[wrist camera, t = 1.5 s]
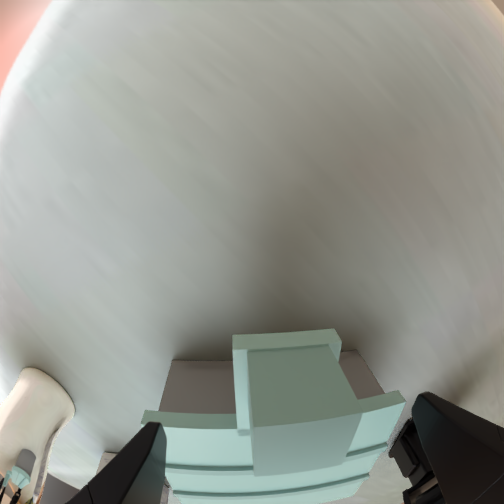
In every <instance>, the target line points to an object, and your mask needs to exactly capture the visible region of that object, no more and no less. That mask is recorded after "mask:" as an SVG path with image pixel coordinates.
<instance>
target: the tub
mask: <svg viewBox="0 0 504 504" xmlns="http://www.w3.org/2000/svg"><path fill="white" fill-rule="evenodd" d="M338 363H339V365H340V367H341V369H342V371H343V373H344V375H345V377H346V379H347V380H348V382H349V384H350V386H351V388H352V390H353V392H354V394H355V396H356V398H357V400H359V399H364V398H369V397H373V396H377V395H382V394H385V393H384V391H383V389H382V388H381V386H380V385H379V383H378V382H377V380H376V378H375V377H374V375H373V374H372V372H371V371H370V369H369V368H368V366H367V364H366V363H365V361H364V360H363V358H362V357H361V355H360V354H359V352H358V351H357V350H353V351H346V352H340V356H339V361H338ZM158 411H160V412H174V413H195V414H236V401H235V385H234V369H233V361H179V360H172V363H171V366H170V370H169V374H168V377H167V381H166V384H165V388H164V392H163V395H162V399H161V403H160V407H159V410H158Z"/></svg>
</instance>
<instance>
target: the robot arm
mask: <svg viewBox="0 0 504 504" xmlns="http://www.w3.org/2000/svg"><path fill="white" fill-rule="evenodd" d="M412 416H413V420H410V421H409V422H407V423H406V424H405V426H404V428H403V430H402V432H401V434H400V435H399V437H398V439H397V441H396V442H395V444H394V446H393V448H392V449H391V451H390V453H389V454H388V455H389V457H390V458H393V457H394V458H395V460H396V462H397V464H398V466H399V468H400V470H401V472H402V474H403V476H404V477H405V478H407V477H408V478H409V480H410V482H411V484H412V487H411V488H409V489H406V490H405V491H403V492H402V493H403V500H404V504H504V428H503V427H501V426H498V425H496V424H494V423H492V422H490V421H488V420H485V419H483V418H481V417H479V416H477V415H475V414H473V413H471V412H469V411H467V410H465V409H463V408H460V407H458V406H456V405H454V404H452V403H450V402H448V401H446V400H444V399H442V398H440V397H438V396H437V395H435V394H433V393H431V392H424V393H421V394H419V395H418V396H417V398H416V401H415V403H414V405H413V407H412ZM166 449H167V437H166V434H165V431H164V428H163V426H162V424H161V423H160V422H154V421H149V422H147V423H146V425H145V426H144V427H143V428H142V429H141V430H140V431H139V432H138V433H137V434H136V435H135V436H134V437H133V438H132V439H131V440H130V441H129V442H128V443H127V444H126V445H125V446H124V447H123V448H122V449H121V450H120V452H119V453H118V454H117V455H116V456H115V457H114V458H113V459H112V460H111V461H110V462H109V463H108V464H107V465H106V466H105V467H104V468H103V469H102V470H101V471H100V472H99V473H98V474H97V475H96V476H95V477H93V478H92V479H91V480H90V481H89V482H88V485H85V486H84V487H83V488H82V489H81V490H80V491H79V492H78V493H77V494H76V495H74V496H73V497H72V498H71V499H70V500H68V501H67V502H66V503H64V504H160V502H161V496H162V491H163V486H164V480H165V465H166Z"/></svg>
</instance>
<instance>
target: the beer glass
mask: <svg viewBox="0 0 504 504" xmlns="http://www.w3.org/2000/svg"><path fill="white" fill-rule="evenodd" d="M74 413H75V407H74V404H73V402H72V400H71V398H70V396H69V395H68V394H67V392H66V391H65V390H64V389H63V387H62V386H61V385H60V384H59V383H58V382H56V381H55V380H54V379H53V378H52V377H50V376H49V375H47V374H46V373H44V372H42V371H41V370H38V369H35V368H31V367H28V368H25V369H23V370H22V371H21V373H20V375H19V377H18V380H17V382H16V384H15V386H14V388H13V389H12V391H11V393H10V394H9V395H8V397H7V398H6V399H5V400H4V401H3V402H2V403H1V404H0V504H39V502H40V499H41V496H42V493H43V489H44V484H45V480H46V475H47V470H48V465H49V460H50V456H51V452H52V448H53V445H54V443H55V440H56V438H57V436H58V435H59V433H60V432H61V430H62V429H63V428H64V427H65V426H66V425H67V423H68V422H69V421H70V420H71V419H72V418H73V416H74Z"/></svg>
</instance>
